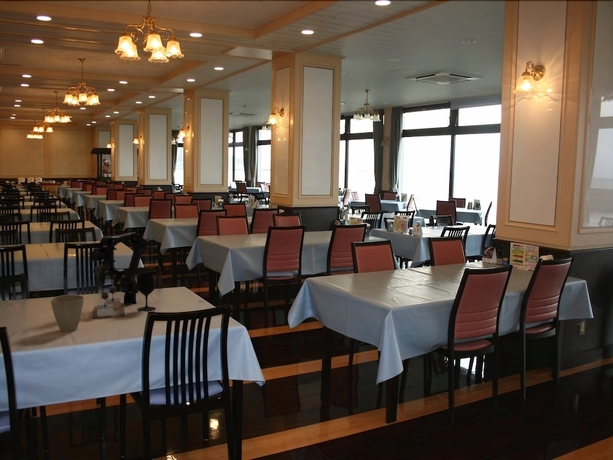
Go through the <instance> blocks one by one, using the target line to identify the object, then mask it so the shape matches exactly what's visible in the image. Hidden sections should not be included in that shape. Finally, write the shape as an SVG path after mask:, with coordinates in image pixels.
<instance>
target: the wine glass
mask: <svg viewBox="0 0 613 460" xmlns="http://www.w3.org/2000/svg"><path fill="white" fill-rule="evenodd" d="M155 276H156V275H155V274H154V273H149V272H148V273H144V272H143V273H140V274H138V275H137V277H136V287H137V288H138V290H139V293H141V294H142V295H144V298H145V306H141V307H138V308H137V309H136V311H138V312H141V311H145V313H147V312H148V311H149V312H153V311H152V310H154V311H156V310H157V307H155V306H149V304H148V297H149V295H150V294H151V293H153V292H154V290H156V289H155V288H156V285H157V284H156V283H157V282H156V281H157V280H156V277H155ZM155 309H156V310H155ZM146 311H147V312H146Z"/></svg>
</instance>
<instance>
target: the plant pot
mask: <svg viewBox="0 0 613 460" xmlns="http://www.w3.org/2000/svg"><path fill="white" fill-rule="evenodd" d="M84 299H85V296H83V295H79V294H65V295H64V294H63V295H58V296H55V297H52V298H51V299H50V303H51V307H52V308H51V309H52V313H53V315H54V318H55V321H56V324H57V326H58V328H59V330H60V332H63V333H70V332H76V330H78V327H79V324H80V320H81V317H82V313H83V308H84V302H85V301H84Z"/></svg>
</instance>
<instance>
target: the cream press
mask: <svg viewBox="0 0 613 460" xmlns="http://www.w3.org/2000/svg"><path fill="white" fill-rule="evenodd" d="M96 306H97V317H98V316H112V315H113V304H106V307H104V304H97V305H96Z"/></svg>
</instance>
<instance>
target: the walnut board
mask: <svg viewBox="0 0 613 460" xmlns="http://www.w3.org/2000/svg"><path fill="white" fill-rule="evenodd" d="M124 305H125V304H120V309H113V315H112V316H98V317H97V305H96V306H94V307H93V315H92V316H93V320H94V319H96V320H97V319H109V318H110V319H111V318H124V316H125V317H126V312H125V306H124Z"/></svg>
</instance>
